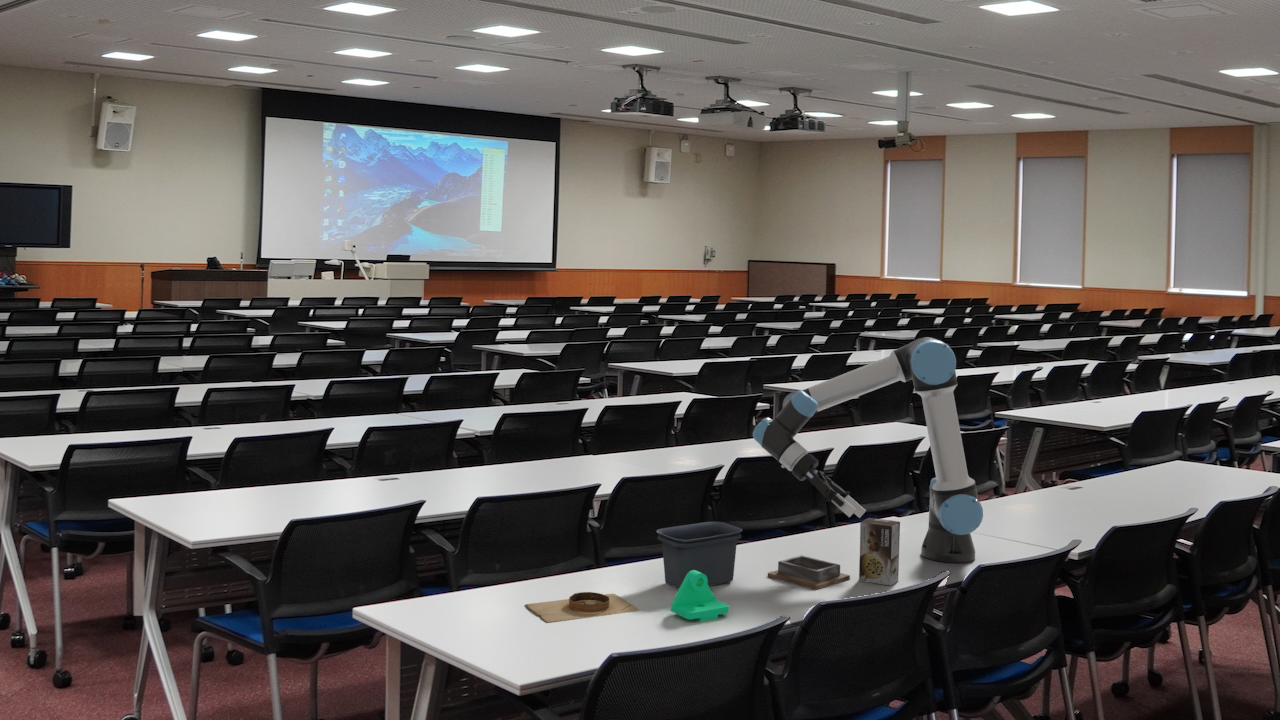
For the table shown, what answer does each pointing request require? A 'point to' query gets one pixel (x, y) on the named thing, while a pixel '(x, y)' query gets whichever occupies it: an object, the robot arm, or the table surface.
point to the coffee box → (879, 551)
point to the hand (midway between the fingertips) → (857, 514)
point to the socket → (808, 572)
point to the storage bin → (699, 551)
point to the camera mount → (697, 599)
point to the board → (581, 607)
